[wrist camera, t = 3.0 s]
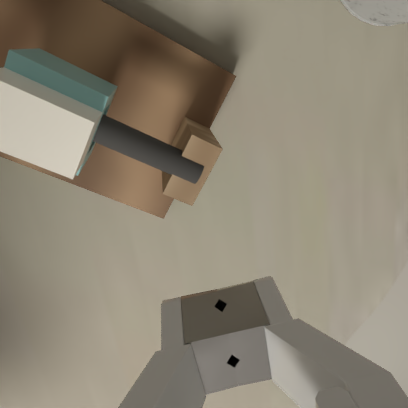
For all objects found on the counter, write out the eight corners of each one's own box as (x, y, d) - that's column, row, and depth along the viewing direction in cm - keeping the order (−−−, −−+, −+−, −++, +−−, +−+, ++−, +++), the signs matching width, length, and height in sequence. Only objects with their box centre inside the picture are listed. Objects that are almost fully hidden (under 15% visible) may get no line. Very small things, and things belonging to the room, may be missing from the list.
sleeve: (117, 86, 20) (101, 105, 14) (91, 151, 21) (67, 194, 15) (39, 48, 19) (-16, 50, 13) (17, 120, 20) (-42, 154, 14)
